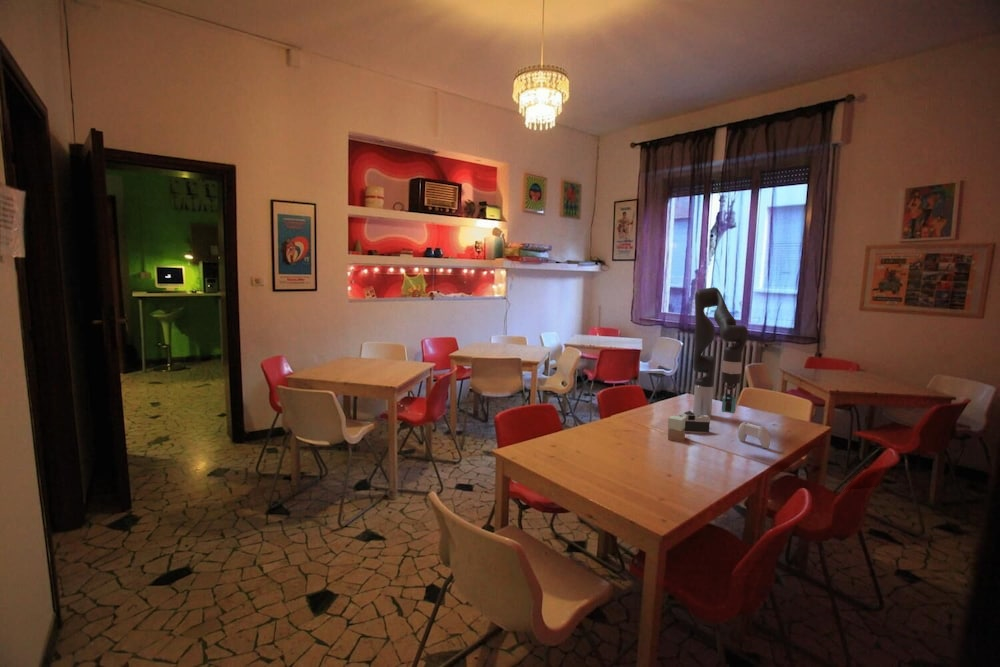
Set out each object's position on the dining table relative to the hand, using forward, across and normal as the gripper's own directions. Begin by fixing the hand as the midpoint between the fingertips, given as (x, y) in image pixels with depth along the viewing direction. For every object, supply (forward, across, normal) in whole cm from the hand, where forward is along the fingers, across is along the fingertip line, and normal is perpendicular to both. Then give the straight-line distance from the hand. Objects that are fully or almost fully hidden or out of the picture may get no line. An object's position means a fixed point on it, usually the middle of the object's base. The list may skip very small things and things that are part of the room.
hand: (728, 409), depth 205 cm
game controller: (+17, -11, +10) cm, 23 cm away
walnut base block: (+17, -1, -21) cm, 27 cm away
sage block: (+12, -1, -21) cm, 25 cm away
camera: (+18, -19, -17) cm, 31 cm away
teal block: (+1, 0, 0) cm, 1 cm away
